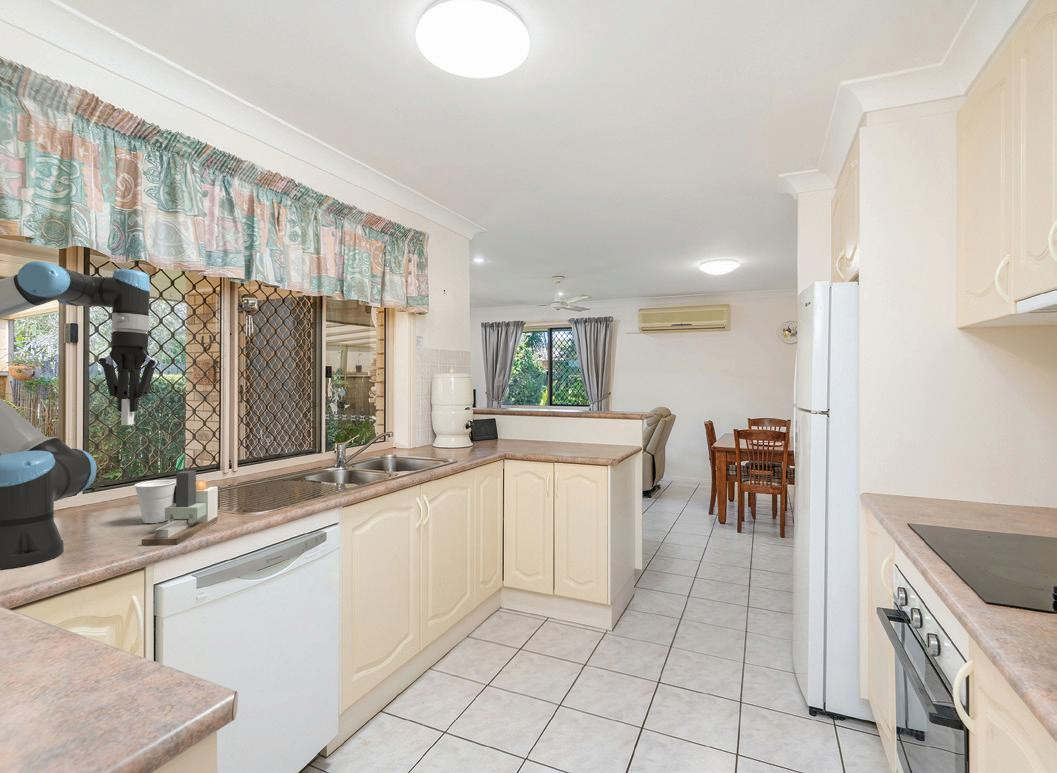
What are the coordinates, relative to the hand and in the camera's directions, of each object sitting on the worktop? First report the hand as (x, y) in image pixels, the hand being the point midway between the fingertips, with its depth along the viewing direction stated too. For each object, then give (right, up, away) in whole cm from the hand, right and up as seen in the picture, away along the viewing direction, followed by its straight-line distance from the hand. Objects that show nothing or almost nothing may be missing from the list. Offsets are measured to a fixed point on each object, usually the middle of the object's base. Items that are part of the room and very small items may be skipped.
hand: (127, 424), depth 136 cm
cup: (-4, -29, +17) cm, 34 cm away
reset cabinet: (+9, -28, +14) cm, 32 cm away
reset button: (+9, -22, +14) cm, 28 cm away
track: (+10, -29, +6) cm, 31 cm away
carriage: (+10, -26, +8) cm, 29 cm away
